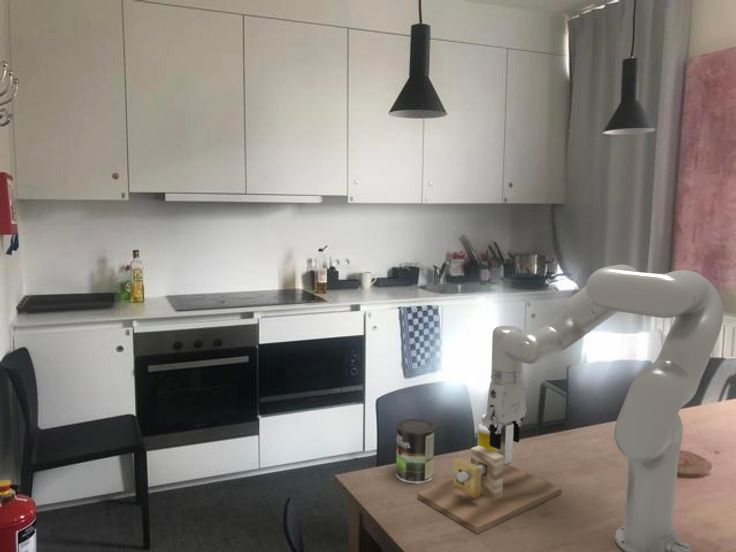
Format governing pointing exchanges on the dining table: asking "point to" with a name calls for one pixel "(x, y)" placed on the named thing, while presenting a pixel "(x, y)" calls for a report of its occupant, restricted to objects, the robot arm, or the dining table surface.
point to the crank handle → (505, 451)
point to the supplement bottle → (484, 436)
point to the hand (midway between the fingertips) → (504, 443)
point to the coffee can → (415, 451)
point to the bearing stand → (490, 494)
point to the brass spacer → (475, 477)
